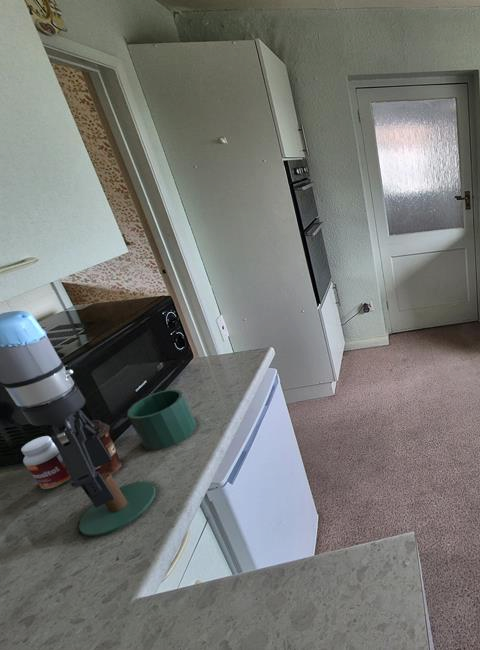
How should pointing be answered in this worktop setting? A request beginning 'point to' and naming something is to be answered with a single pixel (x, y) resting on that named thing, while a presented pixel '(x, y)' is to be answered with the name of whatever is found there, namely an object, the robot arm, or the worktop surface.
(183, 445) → the worktop surface
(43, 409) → the robot arm
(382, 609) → the worktop surface
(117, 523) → the tin lid
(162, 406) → the tin
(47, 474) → the pill bottle
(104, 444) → the brown jar
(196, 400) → the worktop surface
